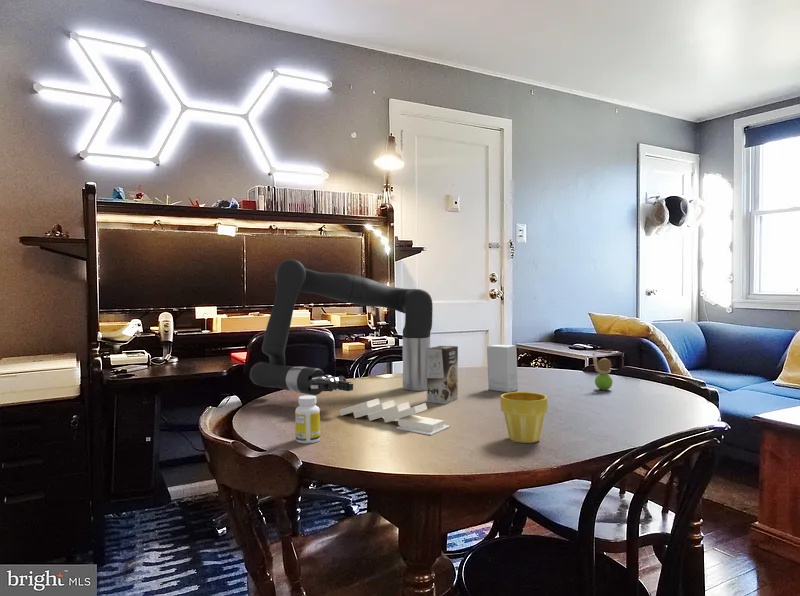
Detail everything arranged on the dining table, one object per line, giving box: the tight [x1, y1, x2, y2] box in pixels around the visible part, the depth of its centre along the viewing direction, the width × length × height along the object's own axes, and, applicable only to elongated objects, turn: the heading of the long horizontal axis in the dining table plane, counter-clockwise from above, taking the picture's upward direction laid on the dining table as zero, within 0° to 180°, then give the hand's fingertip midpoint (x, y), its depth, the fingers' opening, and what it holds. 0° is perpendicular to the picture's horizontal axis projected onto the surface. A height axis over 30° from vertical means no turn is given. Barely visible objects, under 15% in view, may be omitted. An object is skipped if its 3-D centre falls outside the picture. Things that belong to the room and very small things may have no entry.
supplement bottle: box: [294, 394, 321, 444], centre depth 121 cm, size 5×5×10 cm
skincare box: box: [486, 344, 519, 393], centre depth 177 cm, size 8×6×15 cm
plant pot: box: [500, 391, 549, 444], centre depth 121 cm, size 10×10×10 cm
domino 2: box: [352, 399, 396, 419], centre depth 140 cm, size 2×5×10 cm
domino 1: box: [338, 398, 381, 416], centre depth 143 cm, size 2×5×10 cm
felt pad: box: [395, 424, 452, 436], centre depth 131 cm, size 10×9×1 cm
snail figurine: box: [592, 353, 613, 391], centre depth 177 cm, size 5×6×12 cm
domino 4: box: [383, 402, 428, 424], centre depth 134 cm, size 2×5×10 cm
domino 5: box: [397, 414, 445, 432], centre depth 131 cm, size 2×5×10 cm
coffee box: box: [426, 345, 459, 405], centre depth 162 cm, size 9×6×16 cm
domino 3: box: [367, 401, 411, 422], centre depth 137 cm, size 2×5×10 cm
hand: (351, 386), depth 144 cm, fingers closed
